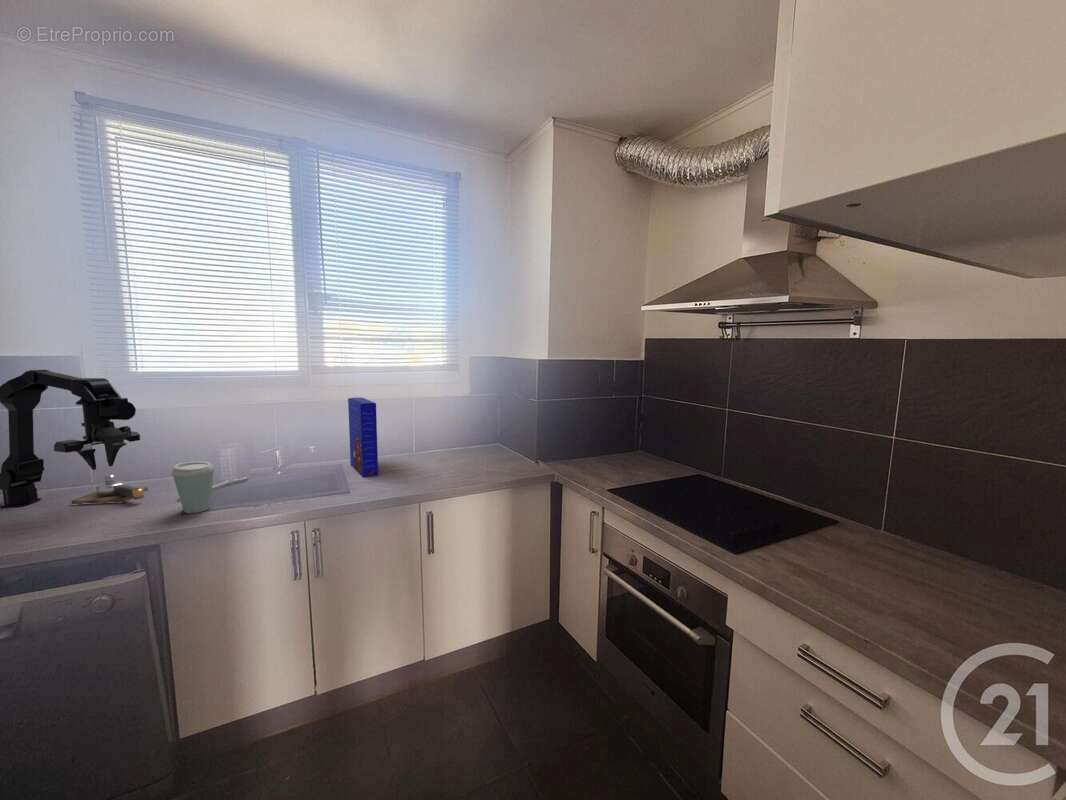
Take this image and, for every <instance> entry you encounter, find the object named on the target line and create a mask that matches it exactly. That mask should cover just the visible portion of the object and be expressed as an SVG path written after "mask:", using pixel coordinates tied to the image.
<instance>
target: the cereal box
mask: <svg viewBox="0 0 1066 800" xmlns="http://www.w3.org/2000/svg"><path fill="white" fill-rule="evenodd" d="M347 403H348V404H347V406H348V409H347V411H348V430H349V431H348V433H349V452H350V453H349V457H350V458H349V460H350V466H351V467H352V468H353V470H355V471H356V472H357V473H358V474H359V475H360V477H362V478H363V479H364V478H368V477H369V478H370V477H375V476H379V461H378V460H379V456H378V452H379V451H378V428H377V427H378V425H377V423H378V422H377V403H376V402H374V401H372V400H369V399H367V398H364V397H349V398H347Z"/></svg>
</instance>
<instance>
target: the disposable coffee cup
mask: <svg viewBox="0 0 1066 800" xmlns="http://www.w3.org/2000/svg"><path fill="white" fill-rule="evenodd" d="M172 467H173V469H171V476H173V480H174V484H175V487H176V490H177V493H178V497H180V501H179V502H180V504H181V508H182V510H183V511H184V513H185V514H197V513H201V512H204V511H207V510H208V509H209V508H210V506H211V500H212V492H213V491H212V486H213V482H214V481H213V480H214V471H215V465H213V464H212V463H211V462H208V461H187V462H185V461H184V462H181V463H180V462H179V463H177V464H175V465H173V466H172Z"/></svg>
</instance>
